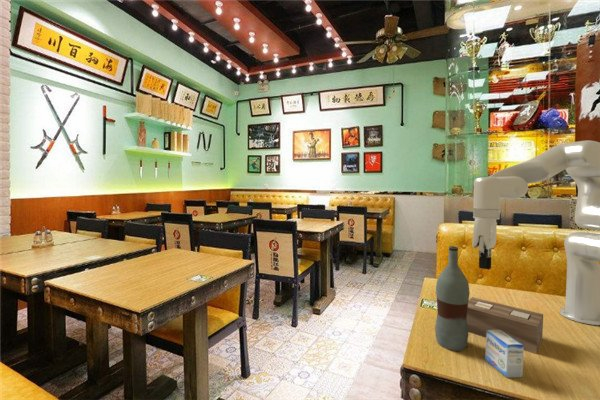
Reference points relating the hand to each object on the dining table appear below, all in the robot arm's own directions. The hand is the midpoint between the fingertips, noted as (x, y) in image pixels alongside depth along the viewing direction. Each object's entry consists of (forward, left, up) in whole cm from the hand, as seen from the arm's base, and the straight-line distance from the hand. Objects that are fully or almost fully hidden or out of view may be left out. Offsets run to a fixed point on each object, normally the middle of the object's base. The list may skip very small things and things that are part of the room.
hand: (484, 268), depth 99 cm
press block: (0, +5, -21) cm, 21 cm away
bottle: (+18, -4, -21) cm, 28 cm away
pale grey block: (0, +10, -21) cm, 23 cm away
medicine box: (+21, +10, -21) cm, 31 cm away
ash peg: (0, 0, -21) cm, 21 cm away
